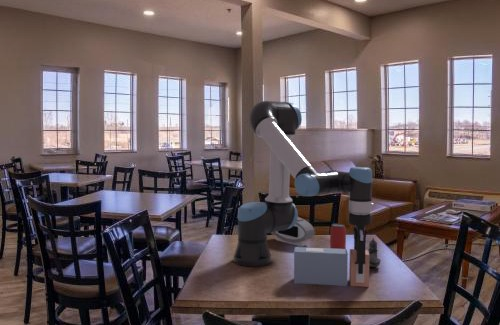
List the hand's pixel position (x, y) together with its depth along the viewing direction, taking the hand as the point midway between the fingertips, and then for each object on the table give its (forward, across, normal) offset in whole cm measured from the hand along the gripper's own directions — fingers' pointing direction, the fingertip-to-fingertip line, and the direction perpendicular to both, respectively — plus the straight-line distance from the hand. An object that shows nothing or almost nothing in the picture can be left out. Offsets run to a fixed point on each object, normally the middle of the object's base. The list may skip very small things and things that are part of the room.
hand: (358, 278), depth 145 cm
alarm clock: (+2, +51, +26) cm, 57 cm away
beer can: (+2, +38, +5) cm, 38 cm away
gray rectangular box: (+2, 0, +13) cm, 13 cm away
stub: (+2, 0, 0) cm, 2 cm away
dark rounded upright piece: (+2, +17, -7) cm, 18 cm away
